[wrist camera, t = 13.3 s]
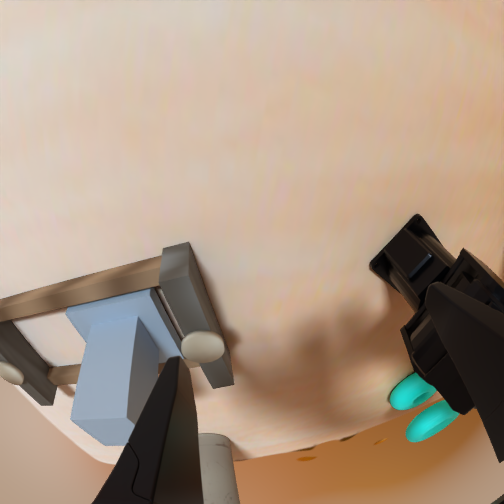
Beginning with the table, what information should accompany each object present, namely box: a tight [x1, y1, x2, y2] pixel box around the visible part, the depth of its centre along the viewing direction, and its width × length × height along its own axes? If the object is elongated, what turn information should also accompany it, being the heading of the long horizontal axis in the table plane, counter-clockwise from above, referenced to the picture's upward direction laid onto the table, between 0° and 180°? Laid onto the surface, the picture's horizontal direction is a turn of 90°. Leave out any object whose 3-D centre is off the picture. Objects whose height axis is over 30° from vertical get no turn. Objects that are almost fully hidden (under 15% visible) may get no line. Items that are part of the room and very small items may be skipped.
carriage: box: [65, 287, 184, 446], centre depth 21 cm, size 8×8×10 cm
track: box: [0, 242, 234, 406], centre depth 23 cm, size 24×13×5 cm, turn 100°
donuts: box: [390, 372, 459, 442], centre depth 39 cm, size 10×10×10 cm
